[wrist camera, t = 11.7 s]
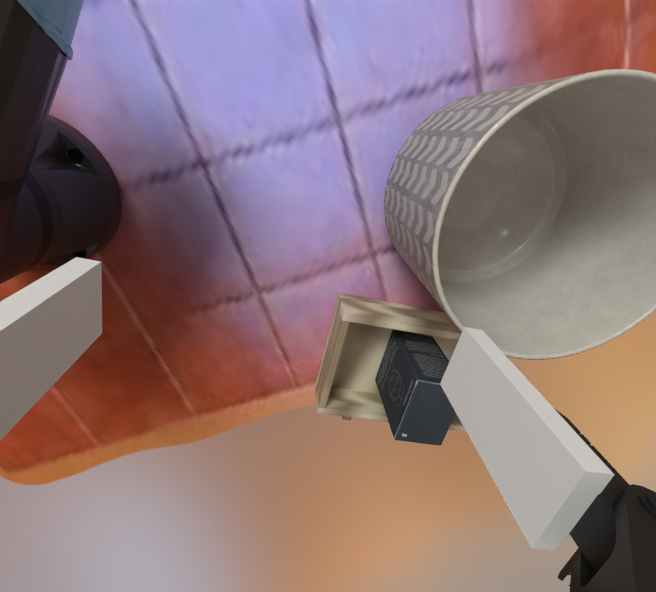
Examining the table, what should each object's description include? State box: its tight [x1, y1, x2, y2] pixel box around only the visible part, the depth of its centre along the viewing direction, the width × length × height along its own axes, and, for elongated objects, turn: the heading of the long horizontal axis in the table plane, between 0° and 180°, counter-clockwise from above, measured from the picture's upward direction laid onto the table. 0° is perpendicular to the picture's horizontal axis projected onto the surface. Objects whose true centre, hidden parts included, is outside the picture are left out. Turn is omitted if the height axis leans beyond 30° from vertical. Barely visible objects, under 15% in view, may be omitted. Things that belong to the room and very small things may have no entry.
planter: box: [384, 69, 656, 360], centre depth 32 cm, size 19×19×18 cm
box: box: [375, 330, 456, 445], centre depth 43 cm, size 8×6×11 cm
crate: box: [315, 293, 466, 432], centre depth 46 cm, size 20×14×6 cm
